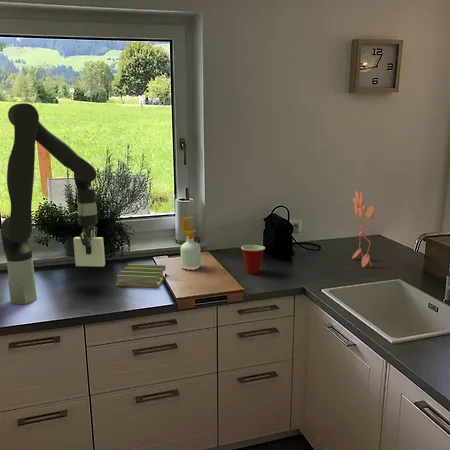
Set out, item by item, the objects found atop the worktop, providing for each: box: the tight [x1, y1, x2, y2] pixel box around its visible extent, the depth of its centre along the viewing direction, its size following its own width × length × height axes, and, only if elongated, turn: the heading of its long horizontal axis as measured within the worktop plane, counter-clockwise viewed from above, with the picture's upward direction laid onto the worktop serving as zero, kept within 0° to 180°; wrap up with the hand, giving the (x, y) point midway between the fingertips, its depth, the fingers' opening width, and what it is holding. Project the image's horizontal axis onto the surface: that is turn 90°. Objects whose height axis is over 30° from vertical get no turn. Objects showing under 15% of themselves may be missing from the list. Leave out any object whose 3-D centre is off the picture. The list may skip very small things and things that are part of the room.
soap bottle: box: [180, 215, 202, 267], centre depth 223 cm, size 9×9×25 cm
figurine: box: [345, 190, 375, 271], centre depth 226 cm, size 15×26×35 cm, turn 5°
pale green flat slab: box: [72, 236, 106, 268], centre depth 204 cm, size 2×12×12 cm, turn 83°
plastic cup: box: [240, 244, 266, 275], centre depth 219 cm, size 11×11×12 cm
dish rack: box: [115, 263, 166, 289], centre depth 211 cm, size 16×18×4 cm
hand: (90, 253), depth 204 cm, fingers closed on pale green flat slab, 2 cm apart
